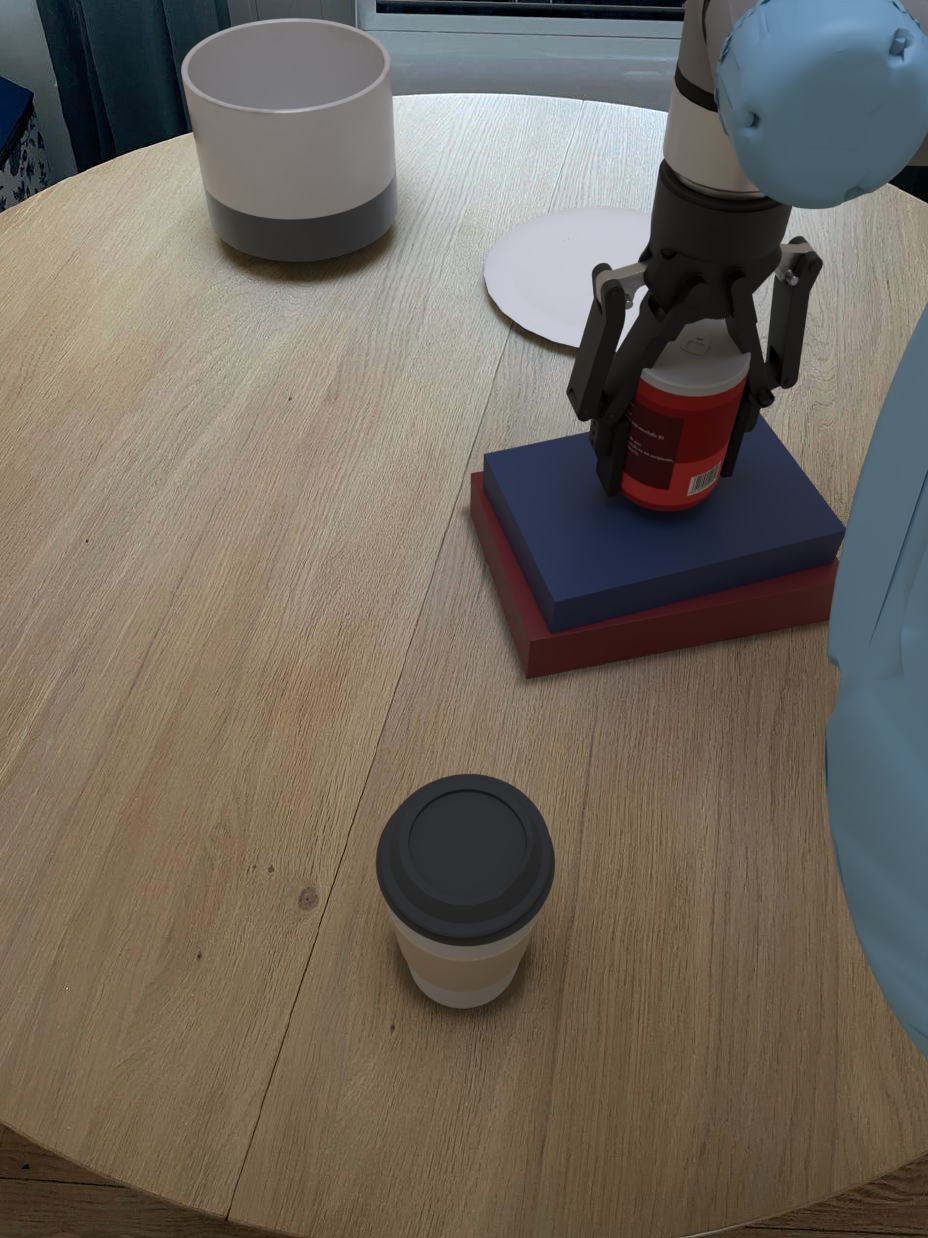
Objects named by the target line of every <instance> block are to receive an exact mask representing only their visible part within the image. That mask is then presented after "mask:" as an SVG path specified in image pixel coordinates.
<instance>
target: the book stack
mask: <svg viewBox="0 0 928 1238" xmlns="http://www.w3.org/2000/svg"><path fill="white" fill-rule="evenodd" d="M589 433H590V430H589V431H585V432H581V433H575V434H571V435H566V436H561V437H556V438H551V439H547V440H543V441H537V442H533V443H529V444H524V445H519V446H515V447H514V446H513V447H509V448H506V449H501V450H496V451H491V452H485V453H483V464H482V465H483V467H482V468H483V469H482V470H481V471H476V472H471V473H470V494H469V495H470V496H469V497H470V499H469V502H470V503H469V514H470V516H471V519H472V523H473V525H474V528H475V531H476V534H477V537H478V540H479V542H480V547H481V550H482V552H483V555H484V558H485V560H486V563H487V567H488V570H489V573H490V575H491V579H492V581H493V585H494V588H495V590H496V593H497V596H498V599H499V602H500V605H501V608H502V610H503V611H502V612H503V613H504V616H505V619H506V623H507V625H508V628H509V631H510V635H511V637H512V640H513V643H514V646H515V649H516V652H517V654H518V657H519V661H520V663H521V667H522V670H523V672H524V675H525V678H526V680H528V679H533V678H537V677H543V676H548V675H552V674H559V673H563V672H568V671H574V670H579V669H582V668H589V667H594V666H599V665H604V664H609V663H614V662H618V661H619V662H620V661H624V660H629V659H634V658H640V657H644V656H651V655H655V654H660V653H665V652H670V651H674V650H681V649H685V648H691V647H695V646H700V645H705V644H710V643H715V642H721V641H726V640H731V639H736V638H741V637H745V636H747V637H748V636H751V635H757V634H762V633H767V632H772V631H777V630H782V629H786V628H792V627H798V626H802V625H808V624H812V623H818V622H822V621H828V620H829V619H830V611H831V604H832V598H833V591H834V585H835V579H836V574H837V570H838V565H839V561H840V559H839V558H838V557H837V555H838V553H839V550H840V549H841V546H842V545H843V541H844V536H845V531H846V526H845V525H844V523H843V522H842V520H841V519H840V518H839V517H838V515H837V514H836V513H835V511H834V510H833V509H832V507H831V505H830V504H829V503H828V502H827V501H826V499H825V498H824V497H823V495H822V494H821V493H820V491H819V490H818V489H817V487H816V486H815V485H814V483H813V482H812V480H811V478H809V476H808V475H807V473H805V471H804V469H803V468H802V467H801V466H800V464H799V463H798V462H797V460H796V459H795V458H794V456H793V455H792V453H790V451H789V450H788V448H787V447H786V445H785V444H784V443H783V441H782V440H781V439H780V438H779V436H778V435H777V434H776V433H775V430H773V428H772V426H771V425H770V424H769V423H768V422H767V420H766V419H765V417H764V416H763V414H761V412H760V413H759V416H758V419H757V423H756V426H755V427H754V429H753V430H752V432H747V433H744V436H743V439H742V443H741V446H740V450H739V453H738V457H737V460H736V464H735V467H734V471H733V474H732V476H730V477H725V478H722V477H721V475H719V478H718V481H717V483H716V485H715V486H714V488H713V489H712V490H711V492H710V493H709V494H708V496H707V497H706V498H705V499H704V500H702V501H701V502H700V503H698V504H696V505H695V506H693V507H690V508H687V509H684V510H678V511H658V510H652V509H649V508H645V507H642V506H640V505H638V504H636V503H634V502H633V501H631V500H630V499H628V498H627V497H626V496H625V495H624V494H623V493H622V492H621V491H620V490H619V492H618V496H614V497H607V495H606V493H605V491H604V488H603V486H602V484H601V482H600V480H599V478H598V475H597V473H596V465H597V457H596V454H595V452H594V450H593V448H592V446H591V444H590V441H589Z"/></svg>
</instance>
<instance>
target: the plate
mask: <svg viewBox="0 0 928 1238" xmlns="http://www.w3.org/2000/svg"><path fill="white" fill-rule="evenodd" d="M651 215H652V212H647V211H642V210H637V209H633V208H627V207H613V206H600V205H595V206H582V207H568V208H563V209H559V210H555V211H550V212H546V213H542V214H539V215H536V216H534V217H532V218H530V219H528V220H525V221H523V222H521V223H518V224H516V225H515V226H514V227H512V228H511V229H510V230H508V231H507V232H505V233H504V234H502V235H501V236H500V237H498V239H497V240H496V242H495V243H494V244H493V246H492V247H491V249H490V250H489V252H488V253H487V254H486V259H485V263H484V269H483V278H484V282H485V285H486V290H487V294H488V296H489V297H490V299H491V300H492V301H493V303H494V304H495V305H496V307H497V308H498V309H499V311H500V312H501V314H503V315H504V316H505V317H507V318H508V319H509V320H511V321H512V322H513V323H514V324H516V325H517V326H519V327H520V328H521V329H522V330H524V331H526V332H528V333H530V334H533V335H535V336H537V337H539V338H542V339H544V340H546V341H548V342H551V343H553V344H556V345H559V346H564V347H568V348H572V349H577V350H578V349H579V346H580V343H581V339H582V336H583V333H584V329H585V326H586V322H587V319H588V316H589V312H590V309H591V306H592V302H593V299H594V296H593V285H592V270H593V269H594V267H595V266H596V265H598V264H600V263H608V264H609V265H610V266H611V268H612V270H615V269H618V268H622V267H625V266H628V265H631V264H635V263H638V260H639V257H640V255H641V254H642V252H643V251H644V249H645V248H646V246H647V244H648V242H649V239H650V227H651ZM580 236H582V237H580ZM576 237H577V238H576ZM569 238H573V239H569ZM568 239H569V240H568ZM564 240H565V241H564ZM562 241H563V242H562ZM647 291H648V288H647V286H646V285H644V286H642V287H640V288H639V289H638V290H637V291H636V293H635V296H634V299H633V307H632V308H630V309H627V310H626V316H625V323H624V327H623V330H622V333H621V336H620V339H619V342H618V345H617V348H616V351H615V354H616V352H617V351H618V349H619V347H620V346H621V344H622V342H623V341H624V339H625V337H626V336H627V334H628V332H629V330H630V329H631V327H632V325H633V324H634V322H635V320H636V319H637V317H638V315H639V306H640V303H641V301H642V299H643V298H644V296H645V294H646V293H647Z"/></svg>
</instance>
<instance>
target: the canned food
mask: <svg viewBox="0 0 928 1238" xmlns="http://www.w3.org/2000/svg"><path fill="white" fill-rule="evenodd" d="M750 357H751V353H749V352H748V353H745V354H742V353H741V351H740V350H739V349H738V347H737V346H736V344H735V343H734V341H733V339H732V338H731V336H730V335H729V333H728V330H727V326H726V322H725V320H724V319H719V320H714V319H703V320H700V321H698V322H695V323H692V324H686V325H685V326H684V328H683V329H682V331H681V333H680V334H679V336H678V337H677V339H676V340H675V341H673V342H668V343H667V345H666V347H665V348H664V350H663V351H662V353H661V354H660V356H659V358H658V359H657V361H656V362H655V364H654V366H653V367H652V369H649V368H644V369H642V374H641V376H640V380H639V386H638V390H637V392H636V394H635V396H634V397H633V399H632V400H631V402H630V403H629V405H628V407H627V408H626V410H625V411H624V413H625V415H626V417H627V419H628V421H629V423H630V429H629V434H628V440H627V446H626V452H625V458H624V463H623V469H622V475H621V481H620V486H619V490H620V491H621V492H622V493H623V494H624V495H625V496H626V497H627V498H628V499H630V500H631V501H633V502H634V503H636V504H638V505H640V506H642V507H645V508H649V509H652V510H658V511H678V510H684V509H687V508H690V507H693V506H695V505H696V504H698V503H700V502H701V501H702V500H704V499H705V498H706V497H707V496H708V494H709V493H710V492H711V490H712V489H713V488H714V486H715V485H716V483H717V481H718V478H719V475H720V472H721V468H722V465H723V461H724V457H725V454H726V450H727V447H728V443H729V440H730V436H731V433H732V429H733V425H734V422H735V418H736V415H737V411H738V408H739V404H740V400H741V397H742V393H743V390H744V386H745V383H746V378H747V374H748V371H749V365H750Z"/></svg>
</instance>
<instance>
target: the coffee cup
mask: <svg viewBox="0 0 928 1238" xmlns="http://www.w3.org/2000/svg"><path fill="white" fill-rule="evenodd" d="M375 873H376V879H377V882H378V886H379V890H380V892H381V894H382V896H383V899H384V903H385V906H386V909H387V912H388V916H389V919H390V921H391V924H392V928H393V931H394V934H395V937H396V941H397V943H398V945H399V949H400V951H401V954H402V955H403V957H404V959H405V961H406V963H407V965H408V968H409V969H408V970H409V972H410V975H411V977H412V979H413V981H414V982H415V984H416V985H417V987H418V989H420V991H421V992H422V993H424V995H425V996H426V997H428V998H429V999H431V1000H432V1001H434V1002H435V1003H437V1004H439V1005H441V1006H445V1007H448V1008H453V1009H460V1010H461V1009H472V1008H478V1007H480V1006H483V1005H486V1004H488V1003H490V1002H492V1001H493V1000H495V999H497V998H498V996H500V995H502V993H504V992H505V990H506V989H507V988H508V987H509V986H510V984H511V983H512V981H513V979H514V977H515V975H516V973H517V970H518V967H519V964H520V962H521V960H522V958H523V957H524V955H525V953H526V951H527V949H528V946H529V944H530V941H531V938H532V936H533V933H534V931H535V929H536V926H537V924H538V921H539V920H540V917H541V915H542V911H543V909H544V905H545V903H546V902H547V900H548V897H549V895H550V893H551V890H552V887H553V883H554V880H555V879H554V878H555V873H556V855H555V849H554V844H553V841H552V837H551V835H550V831H549V828H548V825H547V822H546V820H545V819H544V817H543V814H542V813H541V812H540V810H539V808H538V806H536V804H535V803H534V801H532V800H531V799H530V798H529V796H528V795H526V794H525V793H524V792H523V791H521V790H520V789H519V788H517V787H516V786H515V785H512V784H511V783H509V782H506V781H505V780H502V779H500V778H497V777H493V776H490V775H485V774H479V773H460V774H459V773H458V774H452V775H447V776H444V777H441V778H438V779H435V780H432V781H430V782H428V783H426V784H425V785H423V786H421V787H420V788H418V789H417V790H415V791H413V792H412V793H411V794H410V795H409V796H407V797H406V798H405V799H404V800H403V801H402V802H401V803H400V805H399V806H398V807H397V808H396V809H395V811H394V812H393V813H392V814H391V816H390V817H389V818H388V820H387V822H386V823H385V825H384V827H383V829H382V831H381V834H380V837H379V840H378V843H377V847H376V853H375Z"/></svg>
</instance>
